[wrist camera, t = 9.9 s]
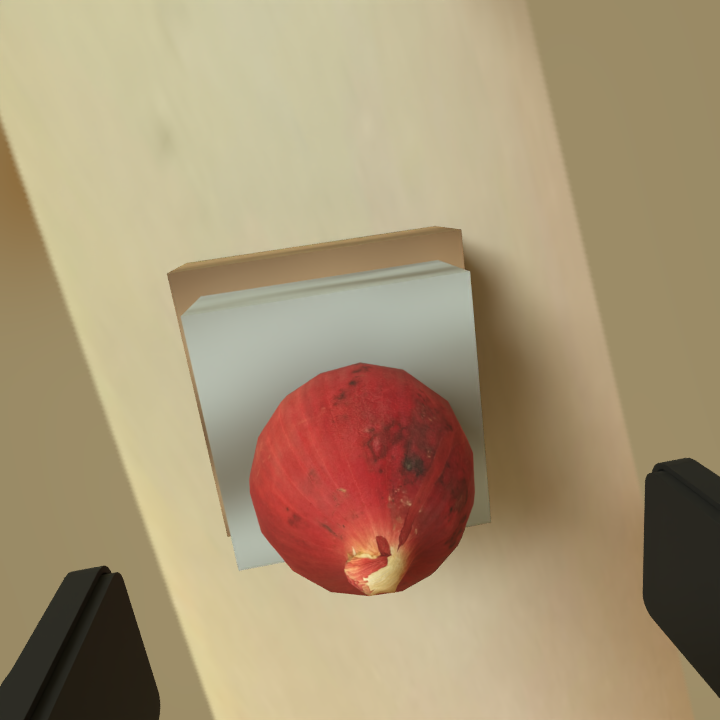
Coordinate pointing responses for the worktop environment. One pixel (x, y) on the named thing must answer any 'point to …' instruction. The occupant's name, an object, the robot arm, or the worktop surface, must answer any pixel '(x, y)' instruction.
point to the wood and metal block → (322, 344)
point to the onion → (363, 480)
